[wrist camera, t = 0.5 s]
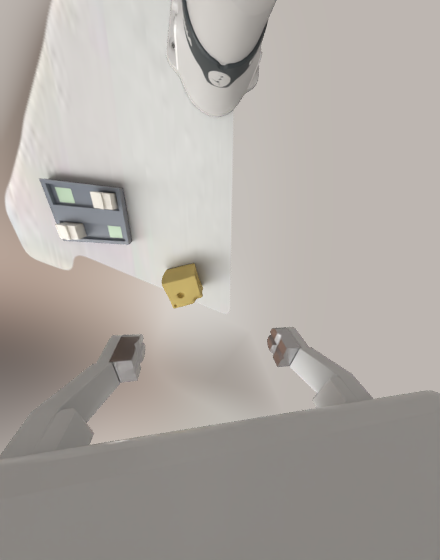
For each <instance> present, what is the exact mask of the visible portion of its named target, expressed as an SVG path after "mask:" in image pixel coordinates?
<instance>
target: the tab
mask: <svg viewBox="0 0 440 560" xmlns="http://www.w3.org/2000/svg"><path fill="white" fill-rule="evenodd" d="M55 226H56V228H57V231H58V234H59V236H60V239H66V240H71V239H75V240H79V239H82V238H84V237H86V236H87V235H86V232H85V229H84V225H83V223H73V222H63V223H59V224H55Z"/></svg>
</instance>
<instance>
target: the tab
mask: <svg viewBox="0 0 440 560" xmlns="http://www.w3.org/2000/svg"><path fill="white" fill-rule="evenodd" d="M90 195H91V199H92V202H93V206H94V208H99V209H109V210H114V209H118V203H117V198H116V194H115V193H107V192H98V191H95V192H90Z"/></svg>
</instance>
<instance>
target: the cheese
mask: <svg viewBox="0 0 440 560" xmlns="http://www.w3.org/2000/svg"><path fill="white" fill-rule="evenodd" d="M162 286H163V288H164V290H165V292H166V294H167V295H168V297H169V299H170V301H171V304H172V306H173V308H178V307H182V306H186V305H189V304H193V303H194V302H195V300H196V299H197V298H201V297H202V296H203V294H202V290H203V287H202V285H201V282H200V280H199V277H198V274H197V270H196V267H195V264H194V263H193V264H188V265H184V266H180V267H176V268H172V269H168V270H166V272H165V273H164V275H163V278H162Z"/></svg>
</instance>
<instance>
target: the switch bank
mask: <svg viewBox="0 0 440 560" xmlns="http://www.w3.org/2000/svg"><path fill="white" fill-rule="evenodd" d="M39 179H40V178H39ZM40 182H41V185H42V187H43V190H44V192H45V195H46V198H47V200H48V203H49V205H50V208H51V210H52V213H53V216H54V218H55V221H56V223H57V224H59V223H63V222H73V223H83V225H84V229H85V232H86V235H87V236H86V237H84V238H82V239H79V240H75V239H71V240H66V239H63V241H77V242H94V243H111V244H127V245H129V244H130V243H131V242H132V240H131V234H130V228H129V222H128V216H127V210H126V204H125V198H124V192H123V188H116V187H108V186H100V185H92V184H84V183H76V182H68V181H60V180H52V179H40ZM95 191H98V192H107V193H115V194H116V198H117V203H118V209H114V210H109V209H99V208H94V206H93V202H92V199H91V195H90V192H95Z"/></svg>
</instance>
